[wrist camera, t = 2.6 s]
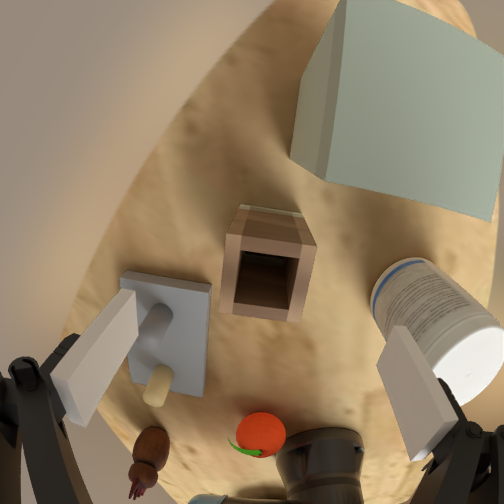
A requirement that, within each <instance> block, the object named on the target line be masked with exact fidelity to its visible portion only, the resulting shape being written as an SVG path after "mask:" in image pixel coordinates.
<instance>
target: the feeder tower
mask: <svg viewBox="0 0 504 504" xmlns="http://www.w3.org/2000/svg"><path fill="white" fill-rule="evenodd" d="M503 154H504V56H503V55H501V54H500V53H498V52H497V51H495V50H494V49H492V48H490V47H489V46H487V45H486V44H484V43H482V42H481V41H479V40H478V39H476V38H474V37H473V36H471V35H469V34H467V33H465V32H464V31H462V30H460V29H458V28H456V27H454V26H452V25H450V24H448V23H446V22H444V21H442V20H440V19H438V18H436V17H434V16H432V15H429V14H427V13H425V12H423V11H420V10H418V9H416V8H413V7H411V6H408V5H406V4H403V3H400V2H398V1H395V0H340V1H339V3H338V5H337V7H336V9H335V11H334V13H333V15H332V17H331V19H330V21H329V23H328V25H327V27H326V29H325V31H324V33H323V35H322V37H321V39H320V41H319V43H318V45H317V47H316V49H315V51H314V53H313V55H312V57H311V59H310V61H309V63H308V65H307V67H306V69H305V71H304V73H303V75H302V77H301V80H300V87H299V95H298V102H297V109H296V116H295V123H294V130H293V137H292V144H291V151H290V158H289V159H290V160H292V161H293V162H295V163H297V164H298V165H300V166H302V167H303V168H305V169H306V170H308V171H309V172H311V173H313V174H314V175H316V176H317V177H319V178H320V179H322V180H323V181H325V182H331V183H336V184H341V185H346V186H351V187H356V188H361V189H366V190H370V191H375V192H380V193H384V194H388V195H393V196H397V197H401V198H405V199H409V200H413V201H417V202H421V203H425V204H429V205H433V206H437V207H440V208H444V209H448V210H451V211H455V212H458V213H462V214H465V215H468V216H472V217H475V218H478V219H481V220H485V221H488V222H491V219H492V214H493V210H494V206H495V201H496V196H497V191H498V186H499V181H500V175H501V168H502V162H503Z"/></svg>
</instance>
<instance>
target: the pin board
mask: <svg viewBox="0 0 504 504" xmlns="http://www.w3.org/2000/svg"><path fill="white" fill-rule="evenodd" d="M119 279H120V290H121V289H122V288H124V289H128V290H133V291H135V293H136V309H137V322H138V334H139V335H138V337H137V339H136V340H135V342H134V344H133V345H132V347H131V349H130V350H129V352H128V354H127V357H128V364H129V371H130V377H131V382H134V383H138V384H142V385H146V389H145V391H144V393H143V395H142V397H143V400H144V401H145V402H146V403H147V404H149V405H151V406H153V407H161V406H163V404H164V402H165V399H166V396H167V394H168V391H171V392H176V393H180V394H185V395H190V396H196V397H201V398H202V397H203V393H204V389H205V378H206V360H207V344H208V329H209V315H210V302H211V290H212V284H206V283H199V282H193V281H187V280H181V279H174V278H169V277H163V276H157V275H151V274H145V273H140V272H134V271H129V270H127V271H126V272H124V273H123V274H122V275H121V276H120V277H119Z"/></svg>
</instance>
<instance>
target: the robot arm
mask: <svg viewBox="0 0 504 504" xmlns="http://www.w3.org/2000/svg"><path fill="white" fill-rule="evenodd" d="M138 335H139V334H138V322H137V309H136V293H135V291H133V290H128V289H124V288H122V289H121V290H120V291H119V292H118V293H117V294H116V295H115V296H114V297H113V299H112V300H111V301H110V302H109V303H108V304H107V305H106V307H105V308H104V309H103V310H102V311H101V312H100V314H99V315H98V316H97V317H96V318H95V319H94V321H93V322H92V323H91V324H90V325H89V326H88V328H87V329H86V330H85V331H84V332H83V334H82V335H78V334H75V333H73V334H71V335H69V336H68V337H66V338H64V339H63V341H62V342H61V343H60V344H59V346H58V347H57V348H56V349H55V350H54V351H53V353H52V354H51V355H50V356H49V357H48V358H47V359H46V361H45V362H44V363H43V364H42V365H41V367H40V368H39V365H38V363H37V361H36V360H35V359H34V358H31V357H20V358H17V359H15V360H14V361H13V362H12V363H11V364H10V365H9V368H8V372H9V374H10V376H11V379H9V378H3V376H2V374H1V372H0V504H21V484H20V483H21V482H20V481H21V479H20V475H21V448H22V444H23V449H24V454H25V459H26V464H27V468H28V472H29V476H30V480H31V484H32V487H33V491H34V495H35V498H36V501H37V504H93V503H92V501H91V498H90V496H89V494H88V491H87V489H86V486H85V484H84V481H83V479H82V476H81V474H80V471H79V468H78V466H77V463H76V460H75V457H74V454H73V451H72V448H71V445H70V442H69V438H68V435H67V432H66V428H65V425H64V422H63V420H62V418H63V417H64V415H65V414H67V416H68V418H69V420H70V421H71V422H73V423H76V424H78V425H81V426H83V427H86V426H87V424H88V422H89V420H90V419H91V417H92V415H93V413H94V411H95V409H96V408H97V406H98V404H99V402H100V400H101V399H102V397H103V395H104V393H105V392H106V390H107V388H108V386H109V384H110V383H111V381H112V379H113V377H114V376H115V374H116V372H117V371H118V369H119V367H120V365H121V364H122V362H123V360H124V359H125V357H126V355H127V354H128V352H129V350H130V349H131V347H132V345H133V344H134V342H135V340H136V339H137V337H138ZM376 366H377V369H378V371H379V374H380V376H381V379H382V381H383V384H384V387H385V389H386V392H387V395H388V397H389V400H390V403H391V405H392V408H393V411H394V414H395V417H396V419H397V422H398V425H399V428H400V431H401V434H402V437H403V440H404V443H405V446H406V449H407V452H408V455H409V458H410V461H417V460H422V459H425V458H426V457H427V456H428V455H429V454H430V453H431V452H432V453H433V455H434V457H433V458H432V459H431V460H430V461H429V462H428V463H427V464H426V465H425V466H424V467H423V469H422V470H421V471H424V470H425V469H426V468H427V470H426V472H425V474H424V476H423V478H422V480H421V482H420V484H419V486H418V488H417V490H416V492H415V494H414V496H413V498H412V500H411V502H410V504H504V425H500V426H498V428H497V429H496V430H495V431H494V432H485V431H483V429H482V428H481V427H480V426H479V425H478V424H477V423H475V422H472V421H467V419H466V417H465V415H464V413H463V411H462V409H461V407H460V406H459V404H458V402H457V400H455V399H456V398H455V396H454V395H453V394H452V391H451V389H450V388H449V386H448V384H447V383H446V382H445V381H444V380H442V379H441V378H436V376H435V374H434V372H433V371H432V369H431V367H430V365H429V364H428V362H427V360H426V358H425V357H424V355H423V353H422V352H421V350H420V348H419V347H418V345H417V343H416V342H415V340H414V338H413V337H412V335H411V334H410V332H409V330H408V329H407V327H406V326H398V325H394V326H393V328H392V331H391V333H390V335H389V338H388V340H387V342H386V345H385V347H384V349H383V352H382V354H381V356H380V358H379V360H378V362H377V365H376ZM363 458H364V446H363V441H362V438H361V437H360V435H359V434H357V433H356V432H354V431H351V430H348V429H342V428H323V429H316V430H311V431H307V432H303V433H300V434H298V435H295V436H293V437H291V438H289V439H287V440H286V441H285V442H284V444H283V446H282V448H281V449H280V450H279V451H278V452H277V453H276V466H277V469H278V471H279V474H280V476H281V479H282V481H283V483H284V486H285V488H286V490H287V500H268V499H250V498H238V497H228V495H223V496H219V495H208V494H199V495H196V496H194V497H193V498H192V499H191V500H190V501H189V503H188V504H364V500H363V495H362V490H361V484H360V475H361V469H362V464H363ZM490 467H491V473H489V468H490Z"/></svg>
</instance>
